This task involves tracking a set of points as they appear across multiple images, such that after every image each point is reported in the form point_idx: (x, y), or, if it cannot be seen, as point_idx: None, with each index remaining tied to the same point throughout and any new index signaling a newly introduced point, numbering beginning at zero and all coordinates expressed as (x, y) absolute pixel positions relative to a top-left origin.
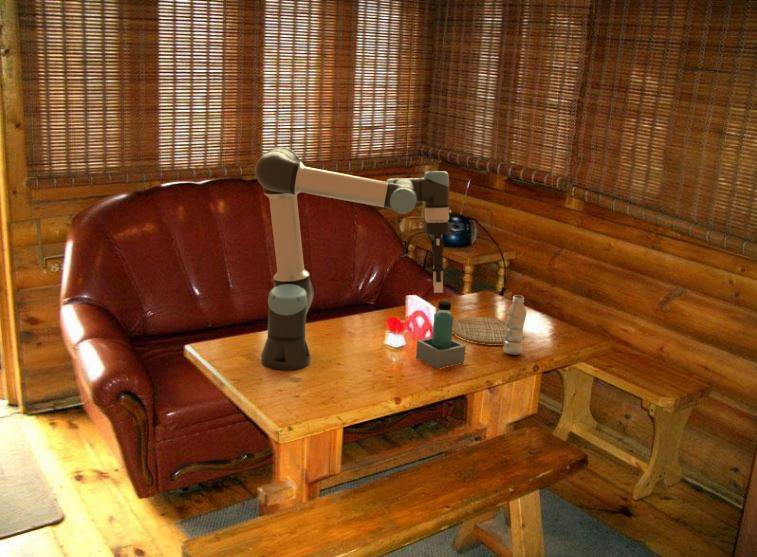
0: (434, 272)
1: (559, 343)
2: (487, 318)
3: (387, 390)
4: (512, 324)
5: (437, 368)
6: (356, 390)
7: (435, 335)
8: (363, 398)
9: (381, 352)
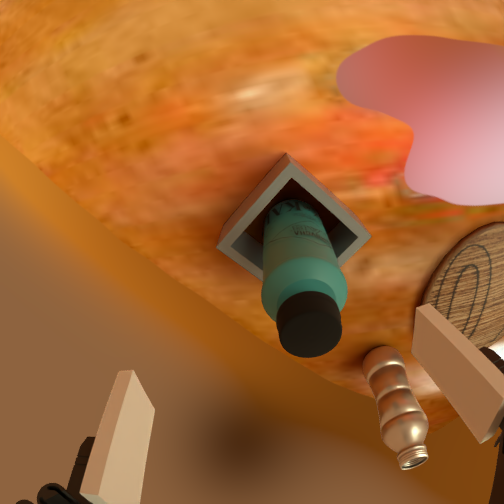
0: (85, 488)
1: (431, 400)
2: None
3: (57, 142)
4: (382, 408)
5: (224, 224)
6: (35, 85)
7: (270, 237)
8: (14, 115)
9: (290, 48)
